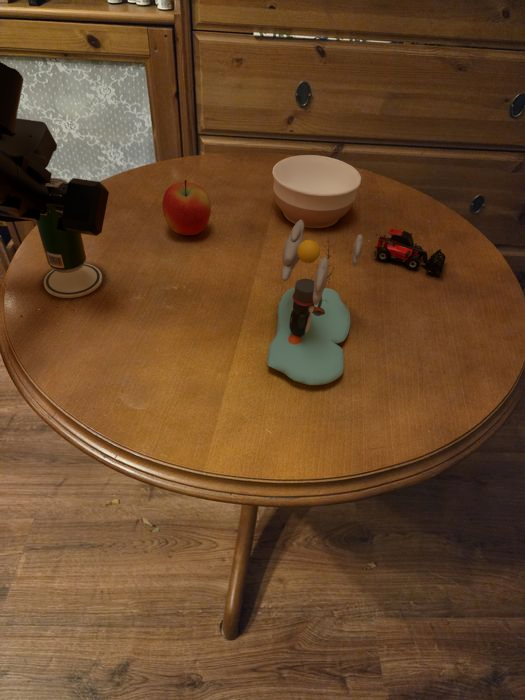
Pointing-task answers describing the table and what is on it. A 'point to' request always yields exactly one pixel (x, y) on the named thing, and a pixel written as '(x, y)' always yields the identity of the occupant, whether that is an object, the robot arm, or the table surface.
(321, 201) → the bowl
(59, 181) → the beer can
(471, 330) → the table surface
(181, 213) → the apple
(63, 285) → the drink coaster
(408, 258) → the loader
